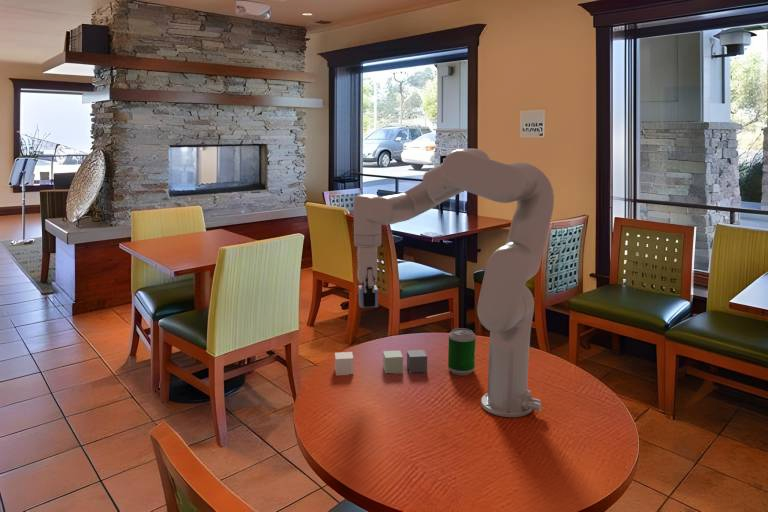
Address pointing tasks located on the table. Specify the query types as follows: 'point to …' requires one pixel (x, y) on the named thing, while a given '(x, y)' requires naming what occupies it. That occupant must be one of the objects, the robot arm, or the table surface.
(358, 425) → the table surface
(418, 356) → the charcoal block
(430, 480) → the table surface
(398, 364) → the sage block
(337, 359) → the cream block
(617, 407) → the table surface
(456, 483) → the table surface
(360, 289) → the slate block
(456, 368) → the soda can
